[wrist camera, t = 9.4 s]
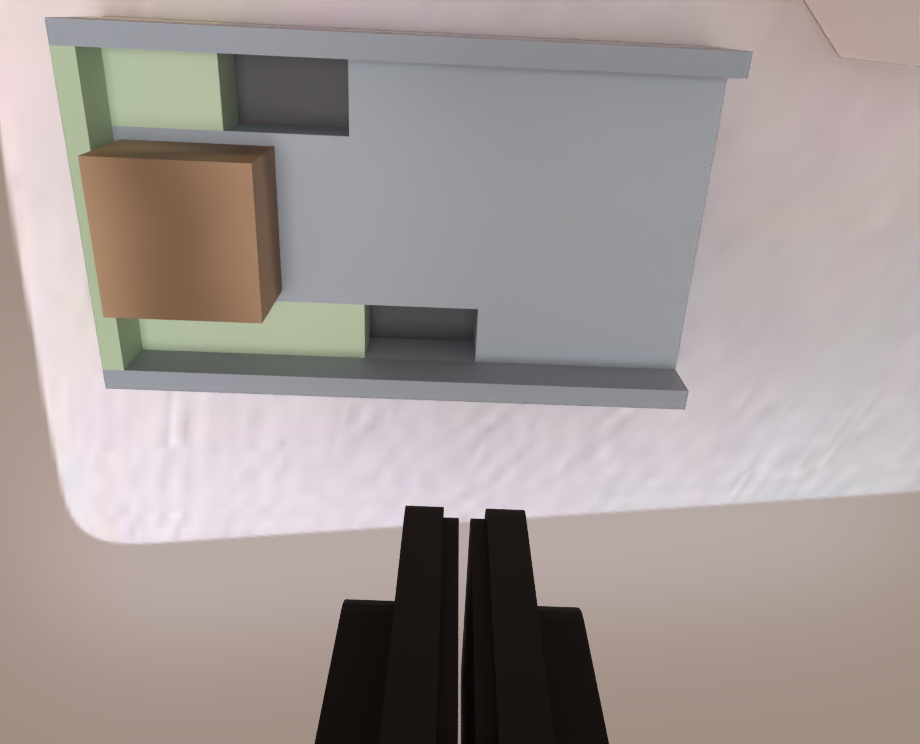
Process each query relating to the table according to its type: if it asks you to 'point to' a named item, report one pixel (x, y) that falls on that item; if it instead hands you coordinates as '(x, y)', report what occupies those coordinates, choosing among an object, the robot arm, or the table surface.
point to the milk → (871, 28)
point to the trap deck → (422, 204)
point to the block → (184, 229)
